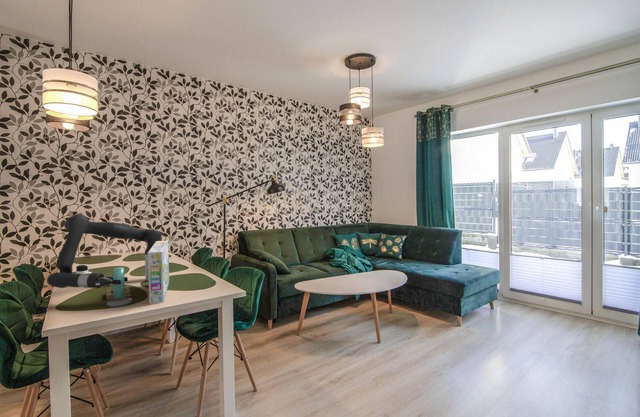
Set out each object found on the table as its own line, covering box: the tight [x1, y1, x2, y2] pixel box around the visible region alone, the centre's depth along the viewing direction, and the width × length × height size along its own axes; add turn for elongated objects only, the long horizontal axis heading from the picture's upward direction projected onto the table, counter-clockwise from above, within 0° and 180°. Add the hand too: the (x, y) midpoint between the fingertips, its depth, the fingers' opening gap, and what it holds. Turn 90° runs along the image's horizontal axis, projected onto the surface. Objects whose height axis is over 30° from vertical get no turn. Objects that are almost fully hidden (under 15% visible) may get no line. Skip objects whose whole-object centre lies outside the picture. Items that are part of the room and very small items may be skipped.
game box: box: [148, 240, 170, 305], centre depth 183 cm, size 40×7×27 cm, turn 21°
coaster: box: [106, 297, 133, 308], centre depth 165 cm, size 11×11×1 cm
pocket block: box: [105, 286, 131, 301], centre depth 178 cm, size 11×11×2 cm
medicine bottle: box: [74, 264, 93, 274], centre depth 200 cm, size 7×7×12 cm
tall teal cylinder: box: [112, 266, 126, 299], centre depth 165 cm, size 5×5×15 cm
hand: (123, 280), depth 165 cm, fingers closed on tall teal cylinder, 5 cm apart
